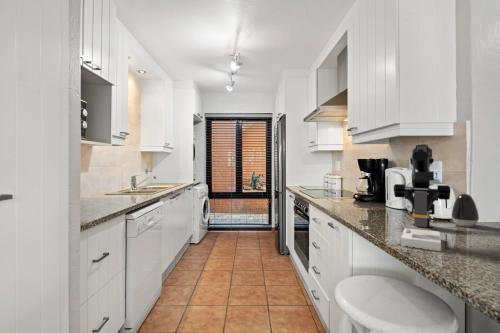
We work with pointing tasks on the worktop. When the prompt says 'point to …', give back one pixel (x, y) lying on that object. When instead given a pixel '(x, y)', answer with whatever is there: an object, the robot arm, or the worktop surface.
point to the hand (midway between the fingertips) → (420, 208)
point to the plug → (420, 208)
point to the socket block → (421, 239)
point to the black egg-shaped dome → (465, 211)
